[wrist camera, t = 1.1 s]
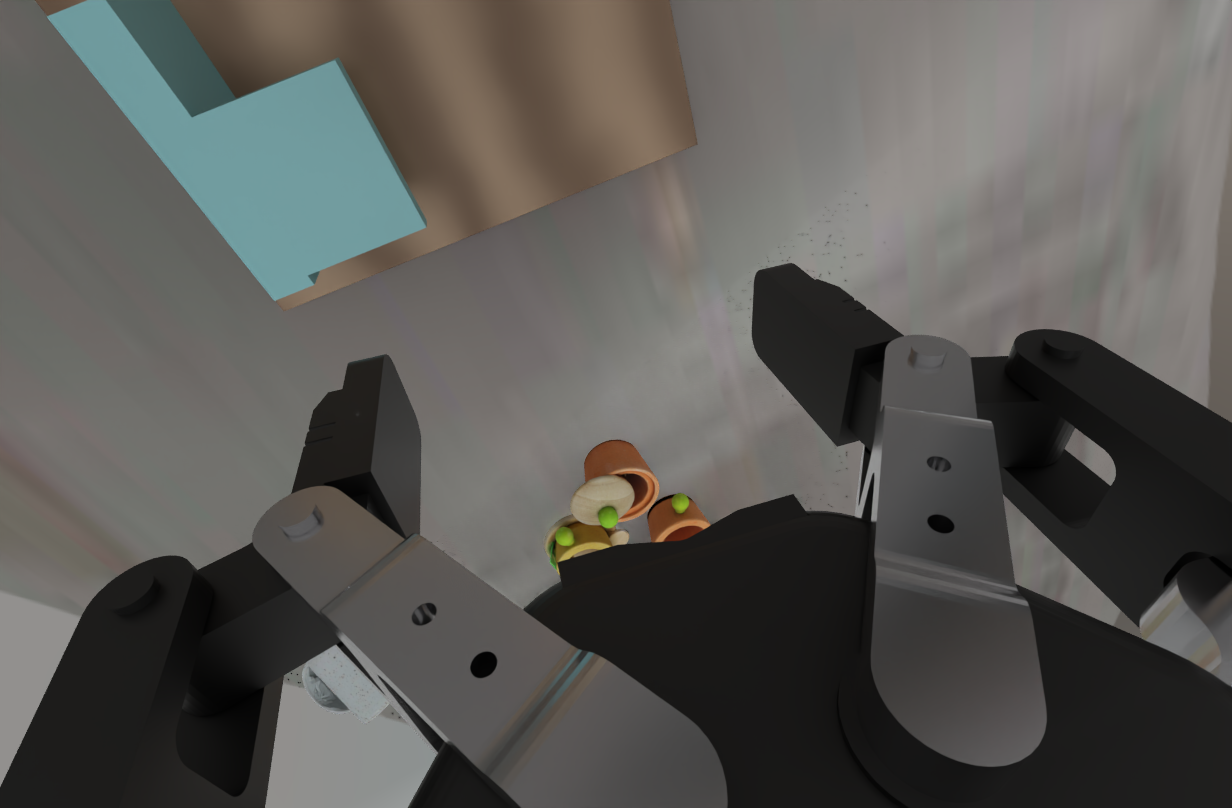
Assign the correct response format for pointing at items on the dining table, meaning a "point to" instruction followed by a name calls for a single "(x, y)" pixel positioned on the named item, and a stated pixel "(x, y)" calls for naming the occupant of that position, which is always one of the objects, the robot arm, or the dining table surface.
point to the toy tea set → (619, 506)
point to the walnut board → (470, 97)
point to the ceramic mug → (341, 686)
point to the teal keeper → (250, 143)
